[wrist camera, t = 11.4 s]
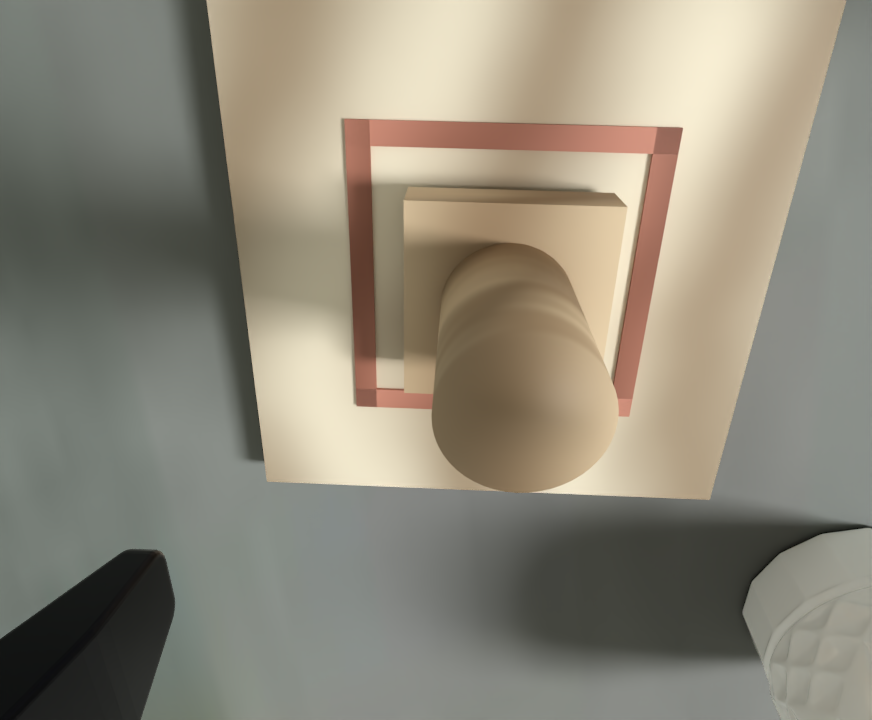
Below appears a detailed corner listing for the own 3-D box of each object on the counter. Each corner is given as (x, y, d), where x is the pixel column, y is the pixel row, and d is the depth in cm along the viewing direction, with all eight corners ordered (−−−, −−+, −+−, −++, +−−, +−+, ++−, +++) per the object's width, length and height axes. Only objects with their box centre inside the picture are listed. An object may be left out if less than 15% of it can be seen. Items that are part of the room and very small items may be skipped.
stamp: (611, 189, 16) (701, 286, 10) (585, 367, 18) (645, 536, 12) (409, 183, 16) (376, 276, 10) (409, 361, 18) (382, 524, 12)
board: (827, -15, 15) (853, -18, 14) (699, 479, 21) (710, 501, 20) (218, -27, 15) (201, -31, 14) (275, 462, 21) (266, 483, 20)
